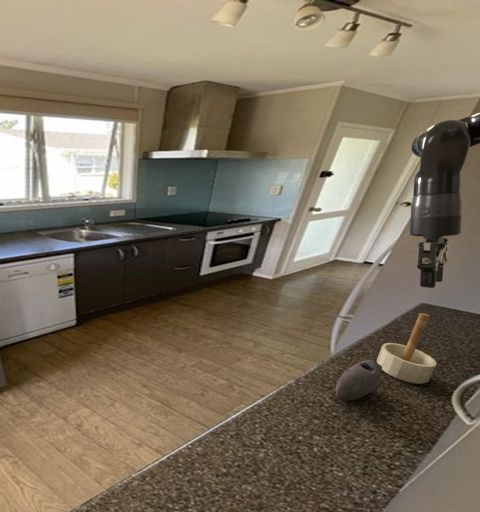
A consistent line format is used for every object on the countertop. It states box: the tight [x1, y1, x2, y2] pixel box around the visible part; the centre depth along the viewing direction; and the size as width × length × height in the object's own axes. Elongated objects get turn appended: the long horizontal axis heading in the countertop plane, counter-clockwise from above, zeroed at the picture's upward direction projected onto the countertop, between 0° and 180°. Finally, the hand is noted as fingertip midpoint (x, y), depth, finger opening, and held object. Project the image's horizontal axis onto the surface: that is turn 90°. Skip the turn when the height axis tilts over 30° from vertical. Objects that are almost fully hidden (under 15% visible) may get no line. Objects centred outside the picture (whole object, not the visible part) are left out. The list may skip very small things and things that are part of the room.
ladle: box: [401, 312, 430, 362], centre depth 73 cm, size 4×2×16 cm, turn 54°
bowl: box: [376, 342, 438, 385], centre depth 74 cm, size 10×10×6 cm
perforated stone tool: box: [335, 359, 383, 402], centre depth 67 cm, size 15×5×7 cm, turn 114°
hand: (431, 284), depth 67 cm, fingers open, 8 cm apart
